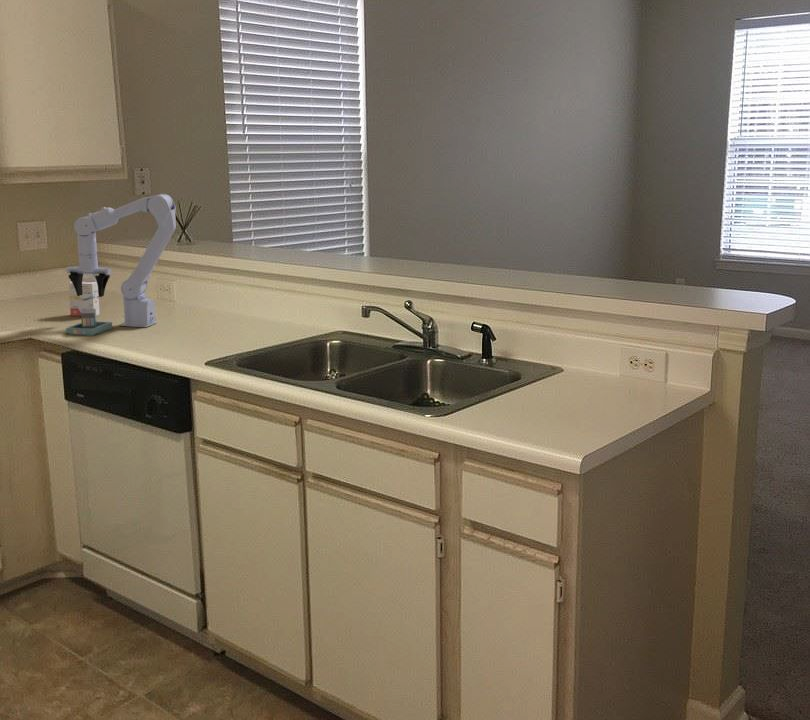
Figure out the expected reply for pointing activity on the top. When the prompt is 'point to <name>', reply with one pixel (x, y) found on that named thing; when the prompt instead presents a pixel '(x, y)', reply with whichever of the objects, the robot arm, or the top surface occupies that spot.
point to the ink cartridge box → (84, 296)
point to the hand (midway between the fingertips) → (90, 295)
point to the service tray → (79, 330)
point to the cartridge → (88, 318)
